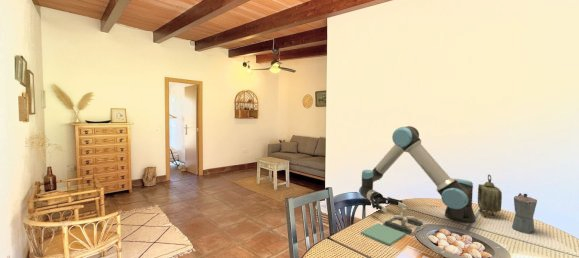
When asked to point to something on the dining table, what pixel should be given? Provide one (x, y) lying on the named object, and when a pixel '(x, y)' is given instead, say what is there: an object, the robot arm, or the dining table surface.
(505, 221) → the dining table surface
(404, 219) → the pipe connector
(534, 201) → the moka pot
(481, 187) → the olive green lantern
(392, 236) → the teal board
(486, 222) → the dining table surface
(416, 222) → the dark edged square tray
